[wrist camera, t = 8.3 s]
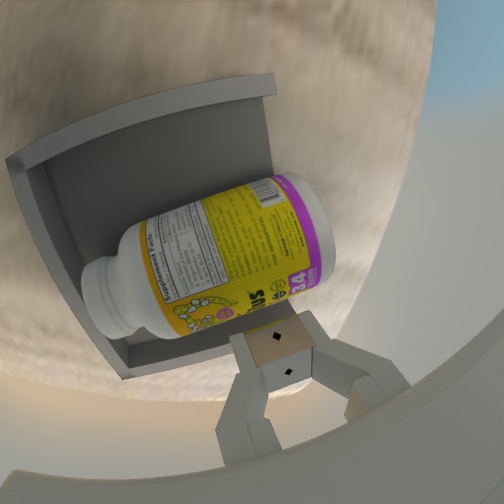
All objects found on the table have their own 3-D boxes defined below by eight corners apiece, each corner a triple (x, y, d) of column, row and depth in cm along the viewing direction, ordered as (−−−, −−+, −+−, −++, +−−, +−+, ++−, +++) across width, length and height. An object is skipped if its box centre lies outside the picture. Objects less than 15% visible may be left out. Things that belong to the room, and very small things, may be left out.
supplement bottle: (313, 279, 19) (139, 342, 17) (279, 191, 19) (109, 252, 18) (356, 279, 12) (99, 370, 11) (304, 148, 12) (58, 239, 11)
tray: (123, 353, 21) (122, 379, 18) (28, 150, 12) (5, 159, 9) (286, 307, 23) (300, 330, 21) (256, 79, 14) (273, 72, 12)
